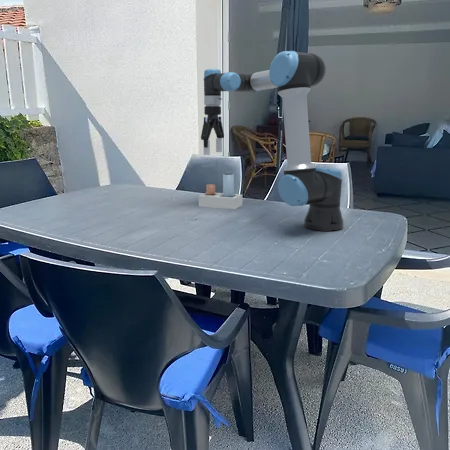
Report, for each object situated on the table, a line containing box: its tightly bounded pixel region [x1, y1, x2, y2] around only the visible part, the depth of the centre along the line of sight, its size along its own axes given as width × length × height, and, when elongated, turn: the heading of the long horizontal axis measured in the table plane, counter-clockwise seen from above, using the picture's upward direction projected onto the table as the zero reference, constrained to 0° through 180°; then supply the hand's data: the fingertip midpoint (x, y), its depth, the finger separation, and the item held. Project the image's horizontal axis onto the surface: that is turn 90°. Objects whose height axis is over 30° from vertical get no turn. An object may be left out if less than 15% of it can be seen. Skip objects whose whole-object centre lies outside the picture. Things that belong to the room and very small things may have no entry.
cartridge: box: [222, 171, 235, 197], centre depth 198 cm, size 5×5×16 cm
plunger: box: [205, 183, 216, 196], centre depth 202 cm, size 4×4×6 cm
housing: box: [198, 192, 243, 210], centre depth 201 cm, size 10×18×6 cm, turn 67°
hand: (213, 153), depth 198 cm, fingers open, 13 cm apart
